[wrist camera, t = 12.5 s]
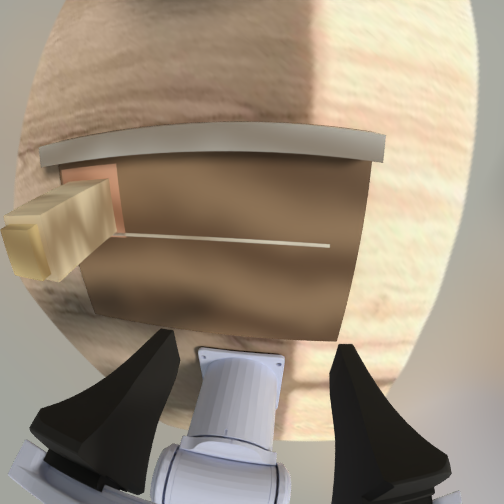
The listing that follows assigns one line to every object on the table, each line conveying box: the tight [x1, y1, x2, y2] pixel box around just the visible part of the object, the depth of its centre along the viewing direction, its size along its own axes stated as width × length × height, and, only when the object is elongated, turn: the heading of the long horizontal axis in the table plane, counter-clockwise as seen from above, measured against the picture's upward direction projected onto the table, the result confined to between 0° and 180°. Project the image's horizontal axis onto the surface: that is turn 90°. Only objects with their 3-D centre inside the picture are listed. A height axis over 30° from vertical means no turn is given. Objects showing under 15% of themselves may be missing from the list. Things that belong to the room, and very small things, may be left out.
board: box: [39, 121, 386, 341], centre depth 19 cm, size 16×22×3 cm
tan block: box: [1, 178, 117, 282], centre depth 15 cm, size 4×4×8 cm
